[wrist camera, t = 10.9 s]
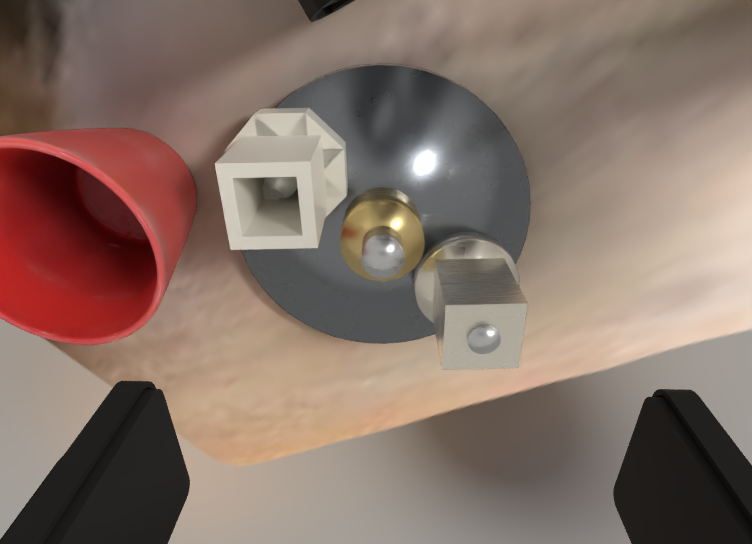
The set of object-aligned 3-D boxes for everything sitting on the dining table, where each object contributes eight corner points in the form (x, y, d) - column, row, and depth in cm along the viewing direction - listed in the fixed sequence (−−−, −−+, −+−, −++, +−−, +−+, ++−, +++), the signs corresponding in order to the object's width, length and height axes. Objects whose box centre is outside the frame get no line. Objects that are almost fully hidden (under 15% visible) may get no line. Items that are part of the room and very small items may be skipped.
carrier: (544, 58, 28) (607, 77, 20) (509, 331, 37) (543, 413, 29) (213, 67, 28) (154, 88, 20) (259, 336, 37) (229, 419, 29)
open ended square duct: (343, 106, 28) (334, 134, 22) (349, 217, 31) (342, 268, 25) (225, 109, 28) (183, 137, 22) (243, 219, 31) (211, 271, 25)
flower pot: (97, 274, 34) (5, 361, 26) (17, 117, 29) (-131, 161, 21) (241, 251, 33) (195, 333, 25) (184, 85, 28) (102, 116, 20)
